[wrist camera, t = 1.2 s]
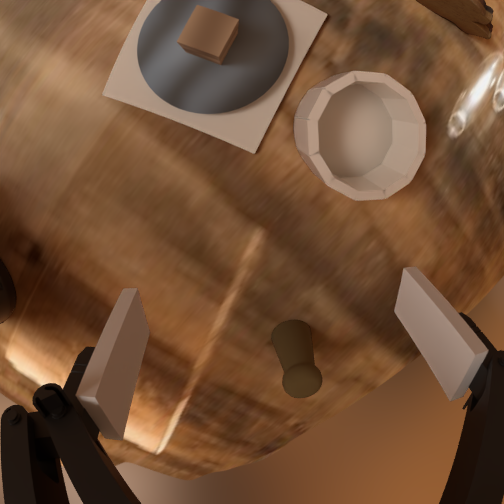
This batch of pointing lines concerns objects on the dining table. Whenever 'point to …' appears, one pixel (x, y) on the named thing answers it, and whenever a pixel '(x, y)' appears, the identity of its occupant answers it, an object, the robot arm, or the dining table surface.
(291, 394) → the cork
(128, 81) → the mat
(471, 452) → the robot arm
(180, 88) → the lid
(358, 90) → the bowl
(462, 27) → the wooden carving
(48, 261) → the dining table surface
